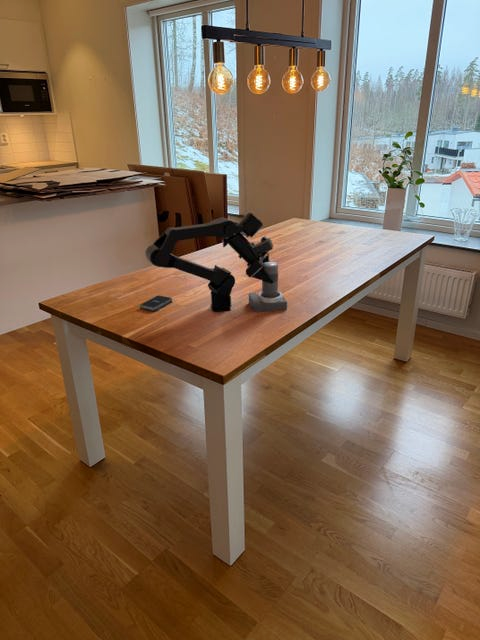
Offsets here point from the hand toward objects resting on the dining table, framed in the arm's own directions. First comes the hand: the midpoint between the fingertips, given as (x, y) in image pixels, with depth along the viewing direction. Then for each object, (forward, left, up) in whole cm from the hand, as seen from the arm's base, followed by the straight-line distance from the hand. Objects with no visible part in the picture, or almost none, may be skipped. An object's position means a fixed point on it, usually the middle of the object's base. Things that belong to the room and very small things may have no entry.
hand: (274, 278), depth 156 cm
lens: (-1, 0, -8) cm, 8 cm away
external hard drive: (-42, +10, -11) cm, 45 cm away
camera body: (-2, 0, -11) cm, 11 cm away
